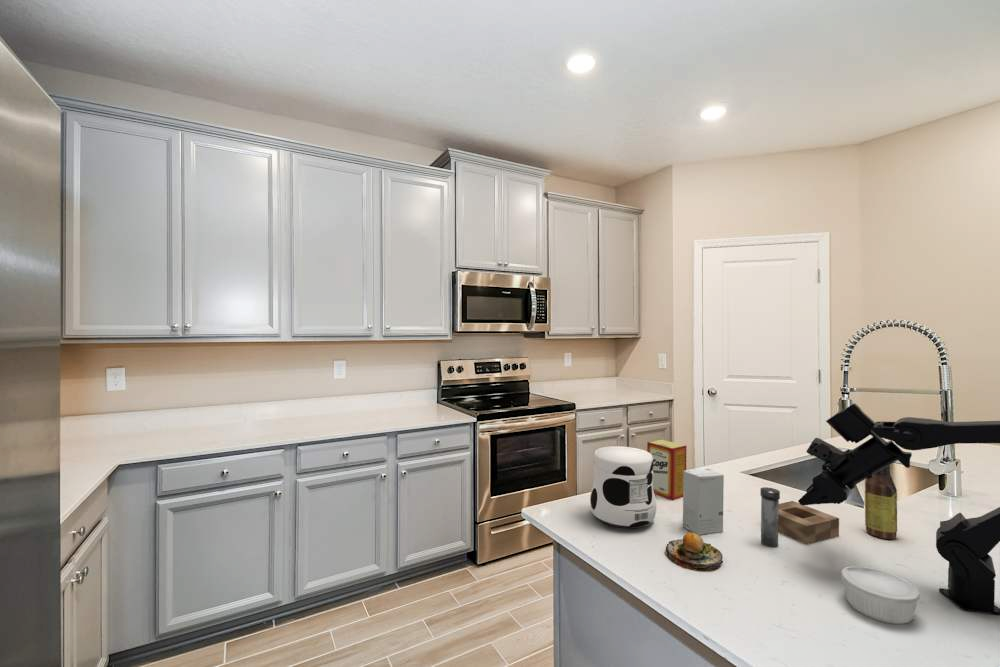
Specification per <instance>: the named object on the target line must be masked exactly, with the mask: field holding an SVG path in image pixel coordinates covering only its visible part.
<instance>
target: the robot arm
mask: <svg viewBox="0 0 1000 667" xmlns="http://www.w3.org/2000/svg"><path fill="white" fill-rule="evenodd" d="M825 422H826V423H827V424H828V425H829V426H830V427H831V428H832V429H833V431H835V432H836V433H838V435H840V437H841V438H842V439H844V440H845V441H846V442H847V443H849V442H851V443H855V444H858V443H860V442H861V441H863V440H865V439H866V438H868V437H869V436H871V438H869V439H867V440H866V441H865V442H862V443H861V444H859V445H858V446H856V447H855V448H853V449H852V448H851V449H849V448H848V449H847V450H845V451H843V450H841V449H839V448H838V447H836V446H834V445H832V444H831V443H828V442H827V441H825V440H823V439H822V438H819V437H815V438H814V439H813V440H812V442H811V443H810V445H809V446H808V448H807V449H806V453H807V454H808V455H810V456H813V457H815V458H817V459H819V460H821V461H823V464H822V465H821V466H822V468H821V471H819V472H818V473H817V474H815V475H814V476H813V478H812V483H811V484H810V485H809V486H808V487H807V488H806V489H805V491H806V492H805V494H804V495H802V496H801V498H799V499H798V501H797V503H799V504H801V505H805V506H812V505H825V504H834V505H835V504H837V505H840V504H841V503H843V502H845V501H846V500H847V499H848V498H849V490H853V489H855V487H856V486H857V485H858V484H859V483H861V482H863V481H865V480H866V478H868V479H870V478H872V477H873V475H874V474H875V473H877V472H878V471H880V470H882V469H883V468H885V467H887V466H889V465H890V466H891V465H893V464H894V463H895V462H897V461H899V463H900V464H902V465H903V466H904V468H910V467H911V459H912V456H913V455H912V454H913V453H912V452H910V451H919V450H920V451H922V450H927V449H935V448H939V447H944V446H949V445H956V444H957V445H958V444H1000V420H982V421H981V420H980V421H979V420H978V421H945V420H938V419H932V418H931V419H930V418H921V417H912V416H907V417H902V418H899V419H898V420H896V421H874V420H873V419H872V418H871V417H870V416H869V415H867V414H866V413H865V412H864V411H863V410H862V408H861V407H860V406H859V405H858V404H857V403H852V404H850V405H849V406H847V407H845V409H841V410H840V411H838V412H837V413H835V414H834V415H832V416H831V417H830V418H828V419H826V420H825ZM886 440H888V441H886ZM903 449H904V450H907V451H904V450H903ZM935 541H936V542H935V548H936V551H937V553H938V554H939V555H940V557H942V558H943V559H944V560H945V561H947V562H948V568H947V570H948V572H947V576H948V577H947V588H939V589H938V592H939V593H941V594H942V595H944V596H945V597H946V598H947V599H948V600H950V601H951V602H952V603H953V604H955V605H956V606H957V607H959V608H960V609H962V610H964V611H966V612H967V611H969V612H975V613H976V612H977V613H983V614H994V615H1000V607H999V606H997V605H996V604H995V599H996V598H995V593H996V590H995V586H996V585H995V584H996V580H995V578H996V576H997V575H996V574H997V573H996V571H995V565H994V562H993V558H992V556H991V555H990V554H989V553H990V552H991V551H992V550H993V549H994V548H996V546H997V545H998V544H999V543H1000V506H999V507H997V508H995V509H992V510H991V511H989V512H987V513H985V514H983V515H981V516H977V517H970V518H966V517H965V516H964V515H963V514H962V513H961V512H958V513H957V514H955V515H954V516H952V517H951V518H950V519H947V520H941V521H940V522H939V527H938V528H937V530H936V532H935Z"/></svg>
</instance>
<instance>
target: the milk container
mask: <svg viewBox="0 0 1000 667" xmlns="http://www.w3.org/2000/svg"><path fill="white" fill-rule="evenodd" d="M591 488H592V489H591V491H590V495H589V496H590V497H589V503H590V509H591V513H592V514H593V515H594V517H595V518H596V519H597V520H598V521H600V522H602V523H603V524H606V525H608V526H613V527H616V528H623V529H639V528H643V527H646V526H648V525H649V524H651V523H652V522H653V521H654V519H656V513H657V499H656V494H654V491H653V457H652V455H651V454H650V453H649V452H647V450H645V449H641V448H637V447H630V446H624V445H623V446H620V445H618V446H616V445H612V446H603V447H599V448H597V449H596V450H594V455H593V484H592V487H591Z"/></svg>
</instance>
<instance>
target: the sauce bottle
mask: <svg viewBox="0 0 1000 667" xmlns="http://www.w3.org/2000/svg"><path fill="white" fill-rule="evenodd" d="M864 484H865V485H864V488H865V489H864V524H865V525H864V526H865V531H866V532H867V534H869V535H871V536H874V537H876V538H880V539H886V540H895V539H896V538H897V532H898V490H897V487H896V484H895V482H894V480H893V478H892V475H891V464H890V465H889V466H887V467H885V468H883V469H882V470H880V471H878V472H877V473H875V474H874V475H873V477H872V478H870V479H868V478H866V479H865V480H864Z"/></svg>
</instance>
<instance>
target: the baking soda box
mask: <svg viewBox="0 0 1000 667" xmlns="http://www.w3.org/2000/svg"><path fill="white" fill-rule="evenodd" d="M646 448H647V449H646V451H647V452H649V453H650V454H651V455H652V457H653V491H654V495H657V496H659V497H662V498H666V499H668V500H670V501H676V500H678V499H683V471H685V470H687V445H684V444H683V443H679V442H674V441H669V440H665V439H656V440H651V441H650V440H649V441H647V446H646Z"/></svg>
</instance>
